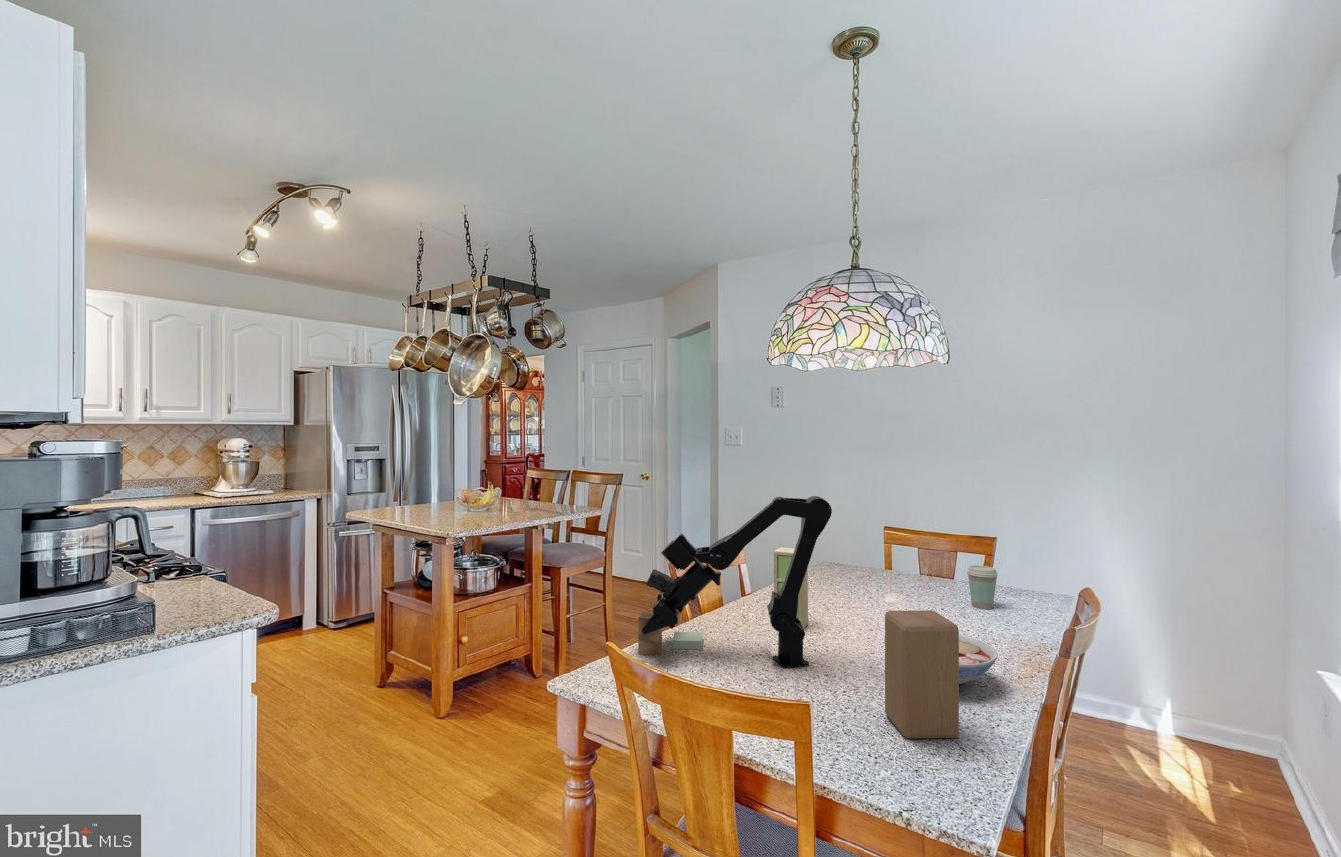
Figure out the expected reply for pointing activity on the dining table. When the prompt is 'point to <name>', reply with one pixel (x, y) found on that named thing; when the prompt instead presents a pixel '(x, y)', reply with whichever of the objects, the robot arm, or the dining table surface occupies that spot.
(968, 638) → the ramen bowl
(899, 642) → the wooden block
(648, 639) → the walnut pillar
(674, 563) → the robot arm
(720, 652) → the dining table surface
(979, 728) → the dining table surface
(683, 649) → the gray base slab
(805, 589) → the toy refrigerator
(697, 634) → the sage top slab
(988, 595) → the coffee cup
